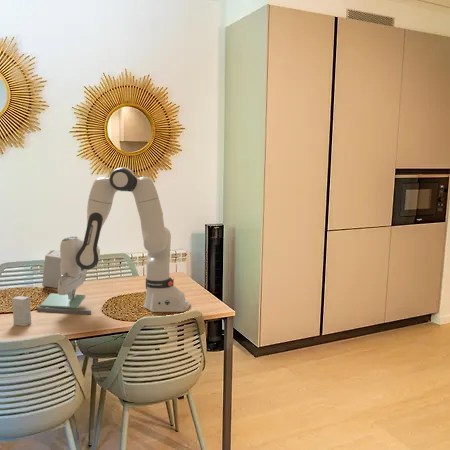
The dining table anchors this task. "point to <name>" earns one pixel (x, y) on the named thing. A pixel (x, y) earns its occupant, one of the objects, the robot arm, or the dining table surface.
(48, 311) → the grey flat board
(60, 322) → the dining table surface
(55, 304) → the cover
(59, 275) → the electrical switch box
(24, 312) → the skincare box
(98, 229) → the robot arm
